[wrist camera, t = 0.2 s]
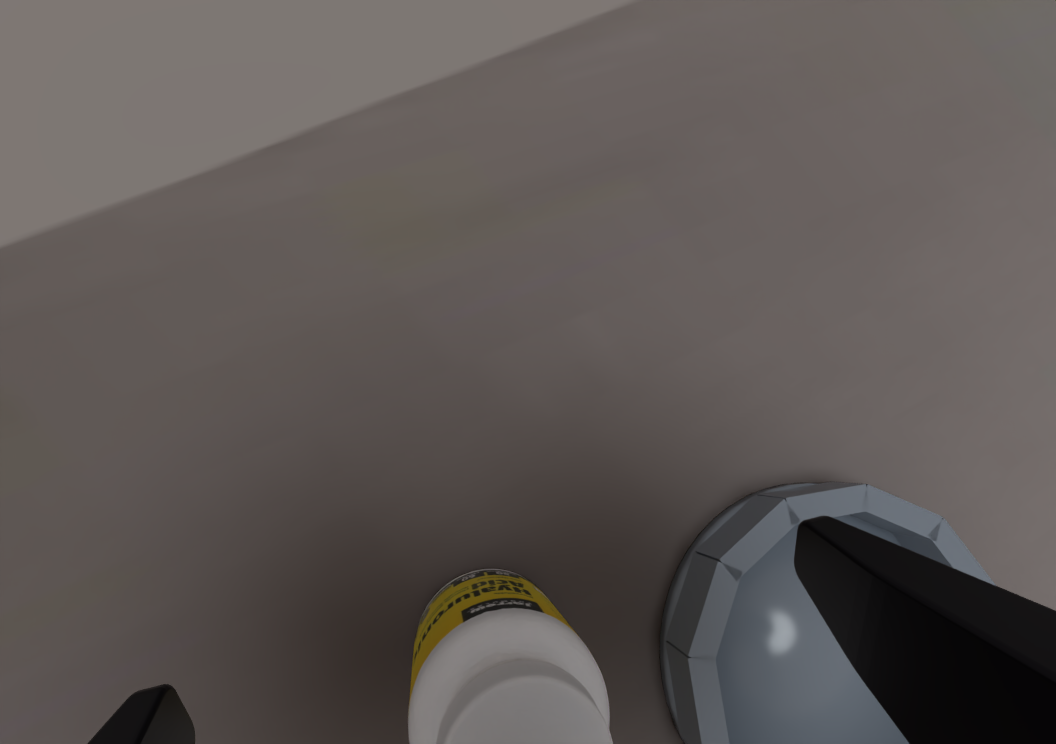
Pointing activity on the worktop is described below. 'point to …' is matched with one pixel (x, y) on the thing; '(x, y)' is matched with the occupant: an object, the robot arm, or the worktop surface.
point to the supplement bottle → (502, 669)
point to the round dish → (779, 621)
